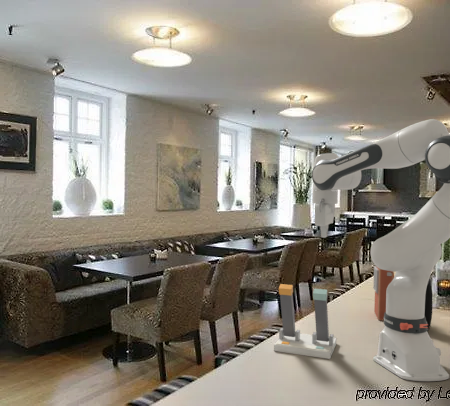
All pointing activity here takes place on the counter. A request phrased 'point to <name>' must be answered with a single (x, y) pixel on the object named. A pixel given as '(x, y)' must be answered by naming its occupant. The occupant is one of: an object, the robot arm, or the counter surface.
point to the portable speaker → (428, 304)
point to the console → (305, 345)
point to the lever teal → (321, 314)
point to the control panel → (381, 290)
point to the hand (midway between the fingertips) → (324, 237)
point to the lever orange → (287, 309)
